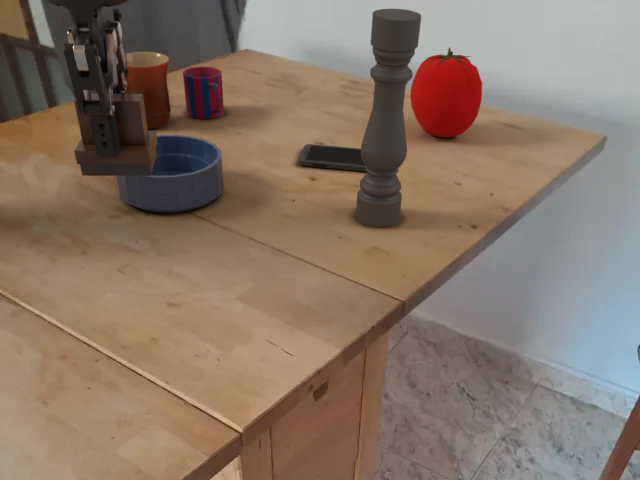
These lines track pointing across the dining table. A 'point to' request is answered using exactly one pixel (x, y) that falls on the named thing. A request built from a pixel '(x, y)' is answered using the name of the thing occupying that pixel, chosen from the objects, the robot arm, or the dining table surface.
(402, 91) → the candle holder
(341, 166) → the cell phone
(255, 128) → the dining table surface
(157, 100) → the mug
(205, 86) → the cup
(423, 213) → the dining table surface
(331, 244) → the dining table surface
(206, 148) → the bowl
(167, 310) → the dining table surface
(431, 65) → the tomato
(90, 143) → the brown wooden stepped block
